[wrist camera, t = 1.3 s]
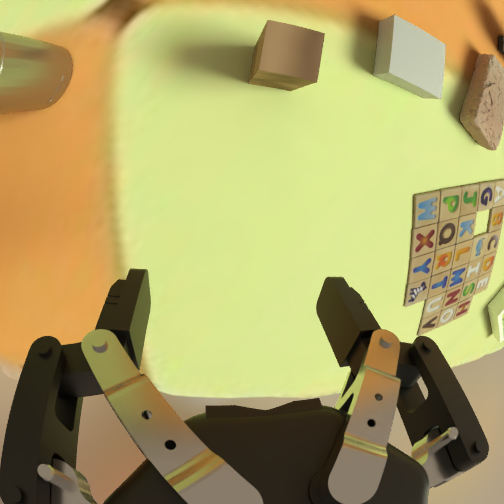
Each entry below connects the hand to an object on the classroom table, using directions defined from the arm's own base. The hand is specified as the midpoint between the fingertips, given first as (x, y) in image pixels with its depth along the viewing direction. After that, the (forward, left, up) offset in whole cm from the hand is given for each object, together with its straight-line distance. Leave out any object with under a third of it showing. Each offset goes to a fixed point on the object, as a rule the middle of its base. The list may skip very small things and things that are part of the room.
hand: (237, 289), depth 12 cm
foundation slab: (+5, +29, -23) cm, 38 cm away
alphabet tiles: (+43, +19, -24) cm, 53 cm away
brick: (+19, +41, -24) cm, 51 cm away
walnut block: (-5, +13, -24) cm, 28 cm away
